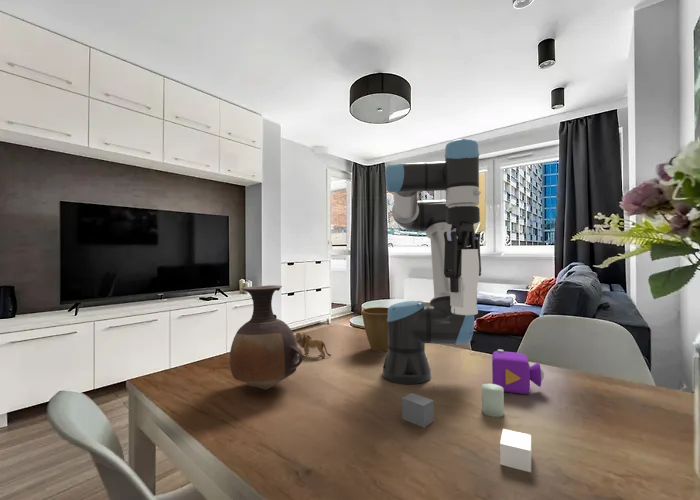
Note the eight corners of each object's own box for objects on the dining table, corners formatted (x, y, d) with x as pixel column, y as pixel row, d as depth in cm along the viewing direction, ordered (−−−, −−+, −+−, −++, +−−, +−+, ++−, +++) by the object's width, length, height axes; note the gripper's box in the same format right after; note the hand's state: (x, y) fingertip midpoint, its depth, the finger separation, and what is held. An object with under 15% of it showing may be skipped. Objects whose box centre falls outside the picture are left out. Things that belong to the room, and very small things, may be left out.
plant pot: (354, 349, 139) (354, 310, 139) (379, 342, 149) (378, 306, 149) (382, 357, 128) (381, 314, 128) (406, 349, 138) (406, 309, 138)
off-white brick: (531, 473, 61) (530, 450, 61) (500, 465, 63) (500, 443, 63) (531, 455, 66) (531, 434, 66) (503, 448, 68) (502, 428, 68)
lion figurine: (292, 356, 131) (292, 333, 131) (298, 352, 136) (298, 330, 136) (329, 359, 127) (328, 335, 127) (333, 355, 132) (333, 331, 132)
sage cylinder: (478, 412, 83) (477, 387, 84) (487, 405, 87) (486, 382, 87) (499, 419, 80) (498, 393, 80) (507, 411, 83) (506, 387, 84)
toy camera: (549, 398, 91) (549, 360, 91) (495, 394, 94) (494, 358, 94) (536, 382, 101) (535, 349, 102) (487, 380, 104) (487, 347, 104)
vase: (315, 389, 99) (314, 285, 99) (256, 412, 85) (255, 291, 85) (270, 371, 115) (269, 282, 115) (214, 388, 101) (213, 286, 101)
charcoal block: (402, 419, 81) (402, 398, 81) (411, 413, 83) (411, 393, 84) (424, 428, 76) (423, 405, 76) (433, 421, 79) (433, 400, 79)
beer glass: (479, 311, 82) (478, 249, 82) (480, 316, 76) (479, 249, 76) (449, 309, 85) (448, 249, 85) (448, 314, 78) (446, 249, 78)
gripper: (457, 201, 71) (459, 312, 71) (495, 208, 85) (496, 301, 84) (426, 205, 76) (427, 308, 76) (466, 211, 90) (467, 298, 90)
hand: (464, 304), depth 80 cm, fingers closed on beer glass, 6 cm apart
